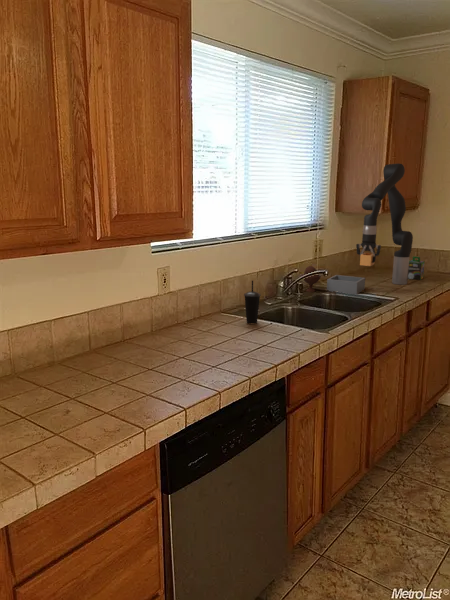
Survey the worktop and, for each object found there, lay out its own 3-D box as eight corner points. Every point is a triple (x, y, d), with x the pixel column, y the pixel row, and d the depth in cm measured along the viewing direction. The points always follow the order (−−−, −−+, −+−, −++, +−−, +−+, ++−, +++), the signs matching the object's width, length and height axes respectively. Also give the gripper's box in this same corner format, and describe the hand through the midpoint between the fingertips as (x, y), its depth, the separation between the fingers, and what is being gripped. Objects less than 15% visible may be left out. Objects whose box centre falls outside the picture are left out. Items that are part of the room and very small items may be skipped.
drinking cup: (248, 325, 234) (249, 282, 229) (240, 321, 240) (241, 279, 236) (263, 323, 237) (264, 281, 232) (254, 319, 244) (255, 278, 239)
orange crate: (364, 262, 303) (365, 252, 302) (374, 263, 300) (375, 253, 299) (359, 265, 295) (360, 254, 293) (370, 266, 292) (371, 255, 290)
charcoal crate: (335, 285, 318) (336, 274, 317) (364, 289, 309) (365, 277, 308) (326, 290, 305) (327, 279, 303) (356, 294, 296) (357, 282, 294)
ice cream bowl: (321, 292, 299) (322, 267, 296) (302, 292, 300) (303, 267, 296) (318, 288, 310) (320, 264, 306) (300, 288, 310) (301, 264, 306)
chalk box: (423, 278, 343) (425, 256, 340) (420, 280, 336) (422, 257, 332) (409, 276, 348) (411, 254, 345) (406, 278, 341) (407, 256, 337)
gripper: (383, 233, 293) (381, 262, 297) (358, 232, 300) (356, 260, 304) (380, 234, 287) (378, 264, 291) (355, 233, 294) (353, 262, 297)
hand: (367, 262), depth 297 cm, fingers closed on orange crate, 6 cm apart
